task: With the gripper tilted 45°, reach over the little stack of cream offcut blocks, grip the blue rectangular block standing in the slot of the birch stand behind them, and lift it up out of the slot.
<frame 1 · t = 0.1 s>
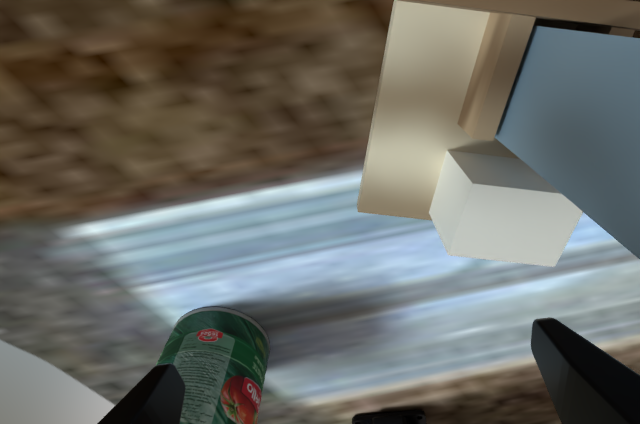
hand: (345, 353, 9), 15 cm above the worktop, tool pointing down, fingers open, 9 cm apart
upper offcut: (498, 205, 20), point 3 cm above the worktop, touching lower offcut
blue rectangular block: (522, 81, 19), point 1 cm above the worktop, touching board stand
board stand: (497, 124, 21), on the worktop
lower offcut: (484, 188, 22), point 1 cm above the worktop, touching board stand, upper offcut
canned tomato: (222, 341, 31), on the worktop
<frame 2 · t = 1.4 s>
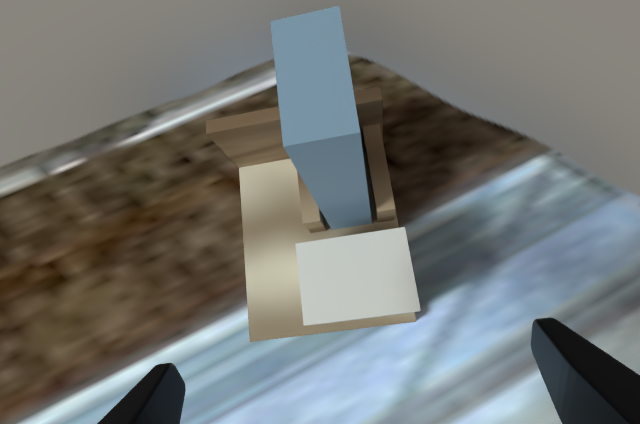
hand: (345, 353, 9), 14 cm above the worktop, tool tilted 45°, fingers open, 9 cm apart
upper offcut: (357, 280, 20), point 3 cm above the worktop, touching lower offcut
blue rectangular block: (346, 189, 24), point 1 cm above the worktop, touching board stand
board stand: (353, 230, 24), on the worktop
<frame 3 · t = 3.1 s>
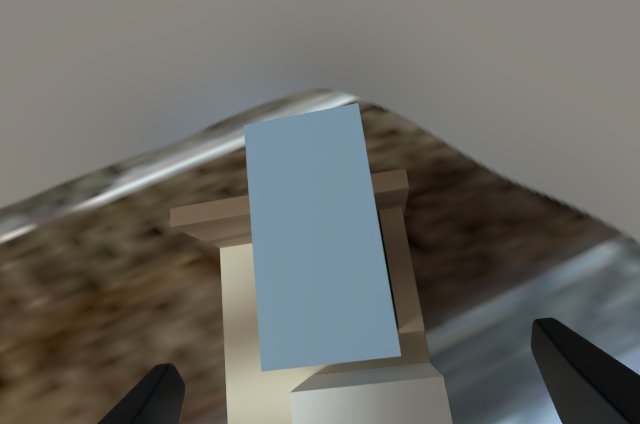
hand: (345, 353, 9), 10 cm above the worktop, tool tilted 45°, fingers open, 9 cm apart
blue rectangular block: (356, 282, 19), point 1 cm above the worktop, touching board stand
board stand: (365, 334, 19), on the worktop
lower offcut: (376, 416, 17), point 1 cm above the worktop, touching board stand, upper offcut
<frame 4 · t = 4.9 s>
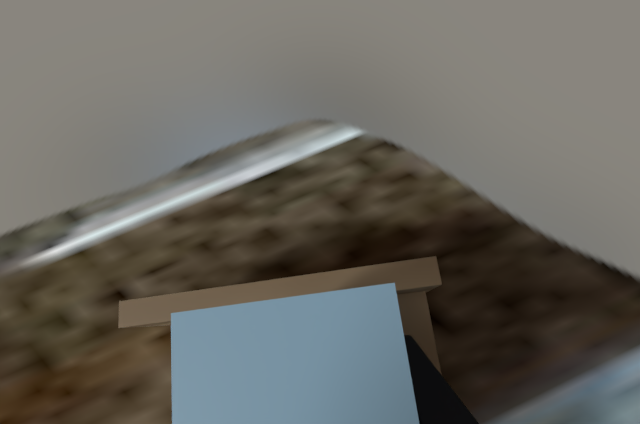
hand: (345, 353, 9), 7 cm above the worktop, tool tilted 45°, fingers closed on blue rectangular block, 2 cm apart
blue rectangular block: (365, 375, 15), point 1 cm above the worktop, touching board stand, gripper
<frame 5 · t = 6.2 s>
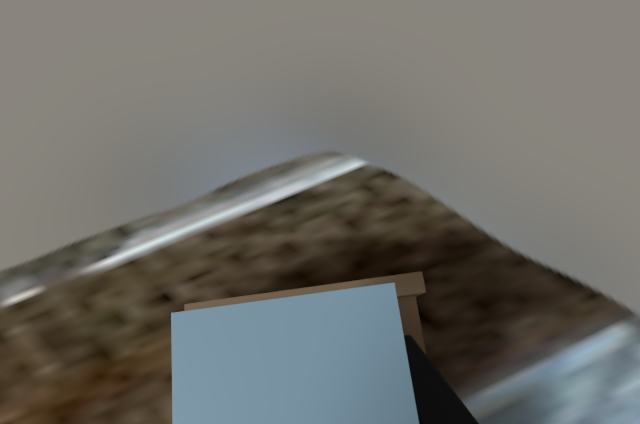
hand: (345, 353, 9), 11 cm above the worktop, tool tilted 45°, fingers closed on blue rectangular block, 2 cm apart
blue rectangular block: (365, 375, 15), point 5 cm above the worktop, touching gripper
board stand: (377, 412, 19), on the worktop
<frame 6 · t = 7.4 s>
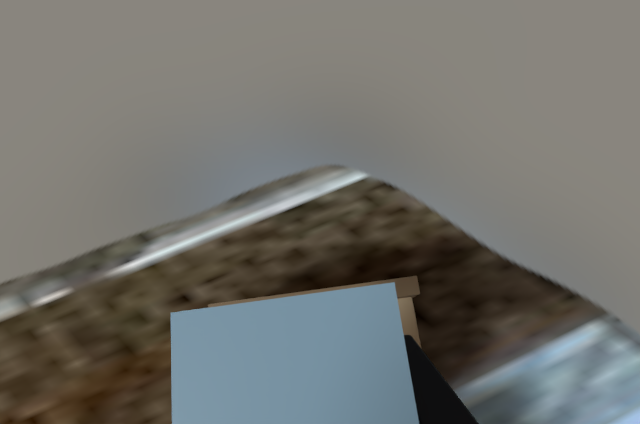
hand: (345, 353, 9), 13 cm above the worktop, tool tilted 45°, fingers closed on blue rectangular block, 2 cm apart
blue rectangular block: (365, 375, 15), point 7 cm above the worktop, touching gripper
board stand: (378, 401, 21), on the worktop
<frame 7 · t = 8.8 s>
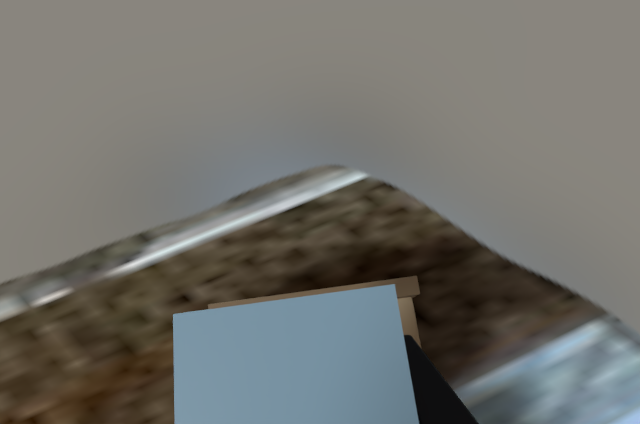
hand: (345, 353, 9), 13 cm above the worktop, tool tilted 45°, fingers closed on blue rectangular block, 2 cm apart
blue rectangular block: (365, 374, 15), point 7 cm above the worktop, touching gripper
board stand: (378, 401, 21), on the worktop
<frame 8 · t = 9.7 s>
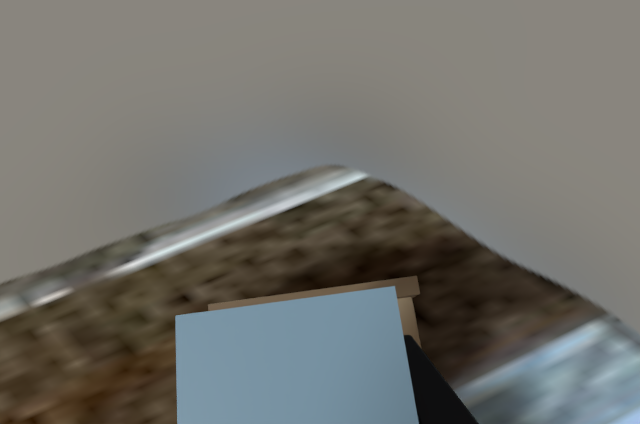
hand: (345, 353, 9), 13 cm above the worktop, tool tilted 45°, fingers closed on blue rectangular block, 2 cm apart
blue rectangular block: (365, 374, 15), point 7 cm above the worktop, touching gripper
board stand: (378, 401, 21), on the worktop
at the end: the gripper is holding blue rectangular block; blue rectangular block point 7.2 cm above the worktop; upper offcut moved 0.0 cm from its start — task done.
